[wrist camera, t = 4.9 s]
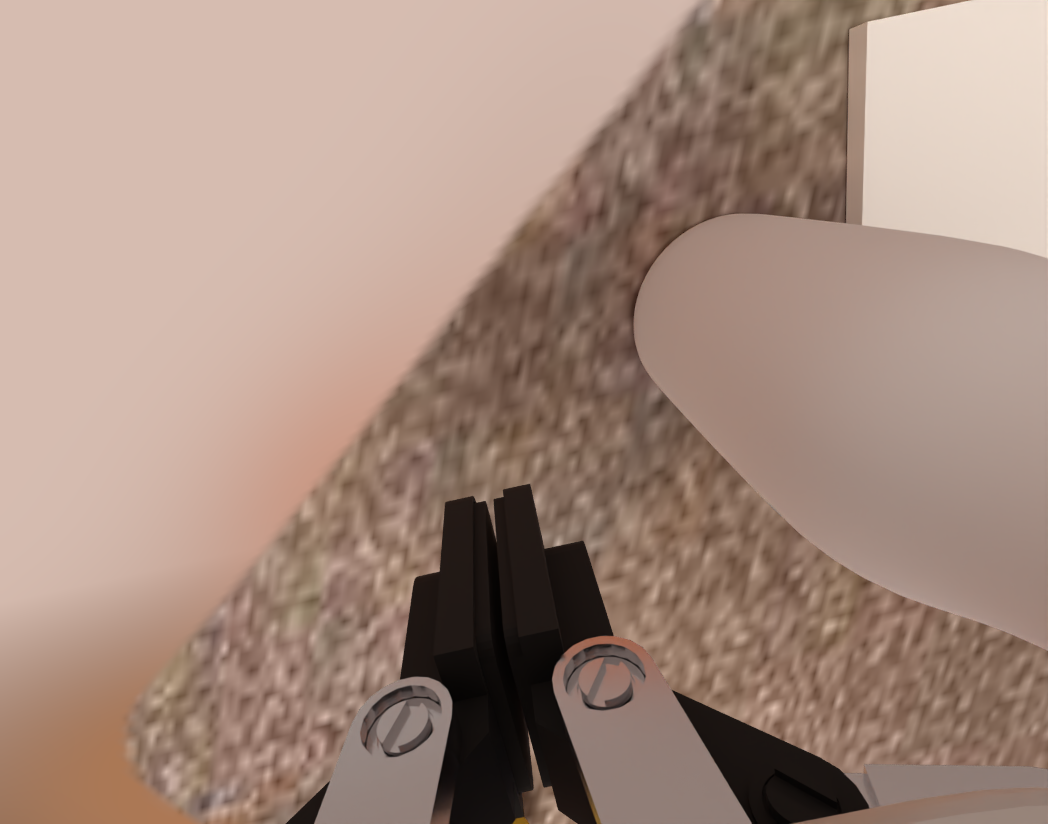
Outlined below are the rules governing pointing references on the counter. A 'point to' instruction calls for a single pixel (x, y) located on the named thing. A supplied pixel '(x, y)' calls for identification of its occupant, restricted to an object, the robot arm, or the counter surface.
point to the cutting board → (952, 123)
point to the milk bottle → (872, 397)
